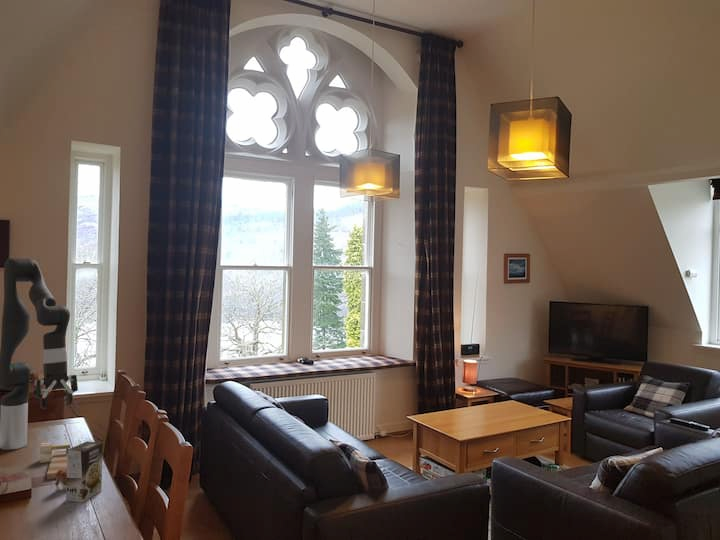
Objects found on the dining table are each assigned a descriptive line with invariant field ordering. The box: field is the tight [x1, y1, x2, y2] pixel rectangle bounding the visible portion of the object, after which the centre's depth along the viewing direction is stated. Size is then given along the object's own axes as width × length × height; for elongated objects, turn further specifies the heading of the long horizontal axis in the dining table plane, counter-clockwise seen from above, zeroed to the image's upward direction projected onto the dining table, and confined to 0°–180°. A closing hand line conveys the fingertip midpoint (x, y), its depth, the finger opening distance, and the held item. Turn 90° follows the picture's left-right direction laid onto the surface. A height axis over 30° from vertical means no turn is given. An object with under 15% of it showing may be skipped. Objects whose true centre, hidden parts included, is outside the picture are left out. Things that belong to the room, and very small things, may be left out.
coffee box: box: [65, 441, 104, 503], centre depth 175 cm, size 9×6×16 cm
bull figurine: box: [54, 467, 67, 492], centre depth 183 cm, size 4×13×8 cm, turn 161°
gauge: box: [39, 441, 72, 463], centre depth 206 cm, size 4×10×6 cm, turn 114°
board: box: [46, 449, 68, 480], centre depth 199 cm, size 24×6×2 cm, turn 24°
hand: (56, 406), depth 197 cm, fingers open, 8 cm apart
